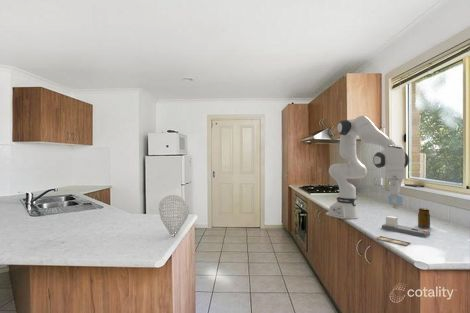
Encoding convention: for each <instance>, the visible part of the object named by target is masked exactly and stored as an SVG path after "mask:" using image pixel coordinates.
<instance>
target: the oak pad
mask: <svg viewBox="0 0 470 313" xmlns="http://www.w3.org/2000/svg"><path fill="white" fill-rule="evenodd" d="M376 240H379V241H383V242H387V243H391V244H396V245H399V246H405V247H407V246H408V245H410V244H411V242H408V241H404V240H399V239H397V238H396V239H395V238H391V237H386V236H381V235H380V236H378V237H376Z"/></svg>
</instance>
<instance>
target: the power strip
mask: <svg viewBox="0 0 470 313" xmlns="http://www.w3.org/2000/svg"><path fill="white" fill-rule="evenodd" d="M381 229H383V230H388V231H392V232H397V233H400V234H401V233H402V234H407V235H411V236H418V237H421V238H422V237H423V238H427V237H428V236H430V235H431V233H430V232H431V230H427V229H424V228H418V227H413V226H412V227H411V226H407V225H401V224H398V226H396V227H393V226H388V225H386V223H384V224H381Z"/></svg>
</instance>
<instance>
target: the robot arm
mask: <svg viewBox="0 0 470 313" xmlns="http://www.w3.org/2000/svg"><path fill="white" fill-rule="evenodd" d="M336 126H337V133H338V134H339V135H340V137H339V156H340V157H341V158H342V159H345V160H346V161H347V163H334V164H331V165H330V166H329V168H328V174H329V176H330V177H331V178H332V179H334V180H335V182H336V183H337V185H338V189H339V190H338V193H339V194H338V195H339V196H338V197H336V202H335V203H333V204H331V205H329V209H328V211H327V212H325V215H327V216H329V217H330V216H331V217H333V218H337V219H343V220H344V219H345V220H346V219H347V220H349V219H351V220H352V219H358V218H359V214H358V212H357V204H358V203H357V198H356V197H357V196H356V195H357V191H356V190H357V188H356V186H355V185H353V184H352V182H351V183H350V182H348V181H347V179H350V180H351V179H355V180H356V179H363V178H365V177H367V174H368V169H367V167H366V165H364V164H363V163H362V162H361V160H360V159H359V158H358V155H357V137H358V138H359V139H360V141H362V142H364V143H366V144H372V145H376V146H379V147H382V148H383V150H381V151H377V152H376V153H375V154H374V155H373V158H372V159H373V160H372V163H373V165H374V166H375V167H376V168H377V169H385V179H387V180H388V182H389V195H392V199H393V203H397V195H400V192H401V186H402V183H403V180H405V179H406V167H407V166H408V165H409V164H410V157H409V155H408V154H407V152H406V151H405V148H404V147H403V146H402V145H398V144H396V143H395V142H394V141H393V140H392V139H391V138H390V137H389V136H388V135H386V134H385V133H384V132H382V131H381V130H380V129H378V128H377V126H375V123H373V121H372V120H371V119H369V117H367V116H365V115H358V116H357V117H356V118H353V119H343V120H340V121H339V122H338V123H337V125H336Z"/></svg>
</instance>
